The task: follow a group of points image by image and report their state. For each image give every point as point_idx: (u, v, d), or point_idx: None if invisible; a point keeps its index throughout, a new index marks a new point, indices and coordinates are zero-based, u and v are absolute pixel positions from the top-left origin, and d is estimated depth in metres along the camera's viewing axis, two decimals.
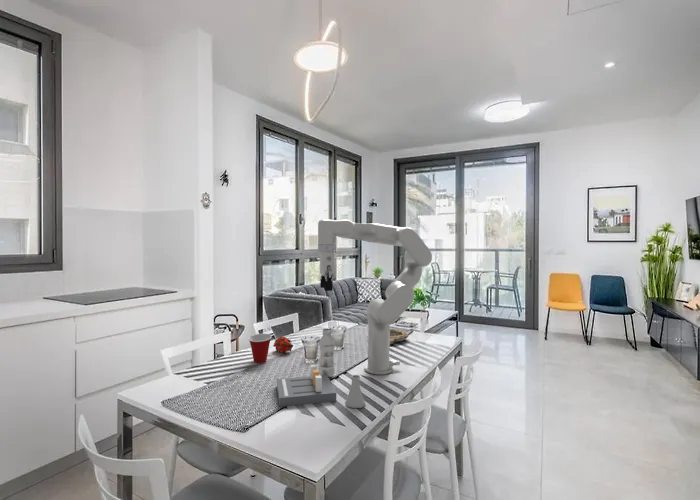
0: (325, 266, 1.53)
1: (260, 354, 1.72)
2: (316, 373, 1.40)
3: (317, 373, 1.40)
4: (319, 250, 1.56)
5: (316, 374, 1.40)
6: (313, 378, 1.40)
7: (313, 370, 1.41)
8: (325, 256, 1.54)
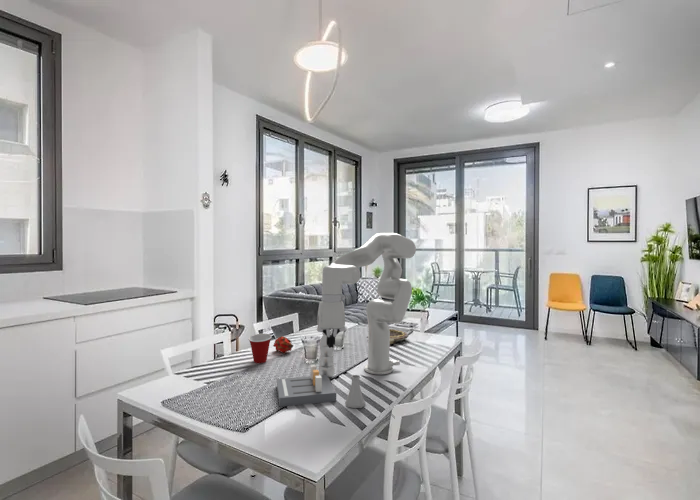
0: (344, 317, 1.41)
1: (261, 354, 1.72)
2: (316, 373, 1.40)
3: (317, 373, 1.40)
4: (337, 301, 1.38)
5: (316, 374, 1.40)
6: (313, 378, 1.40)
7: (313, 370, 1.41)
8: (343, 306, 1.41)
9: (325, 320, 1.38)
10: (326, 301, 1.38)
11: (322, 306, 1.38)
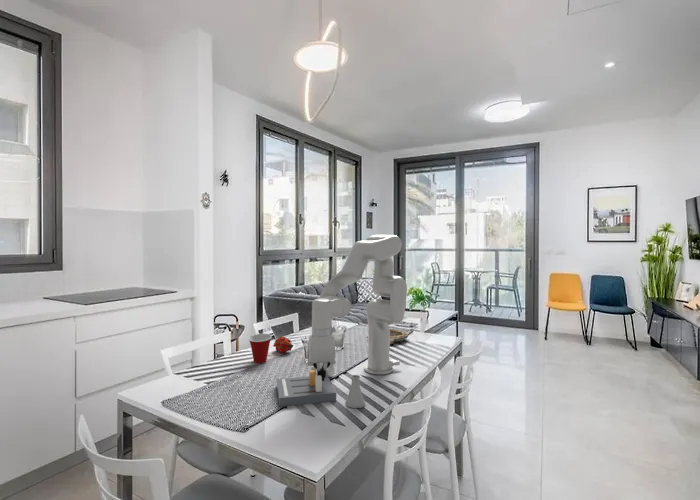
0: None
1: (261, 354, 1.72)
2: (313, 373, 1.39)
3: (314, 373, 1.39)
4: (327, 335, 1.38)
5: (313, 374, 1.39)
6: (309, 378, 1.39)
7: (310, 370, 1.41)
8: (333, 339, 1.41)
9: (315, 354, 1.38)
10: (316, 335, 1.37)
11: (312, 340, 1.38)
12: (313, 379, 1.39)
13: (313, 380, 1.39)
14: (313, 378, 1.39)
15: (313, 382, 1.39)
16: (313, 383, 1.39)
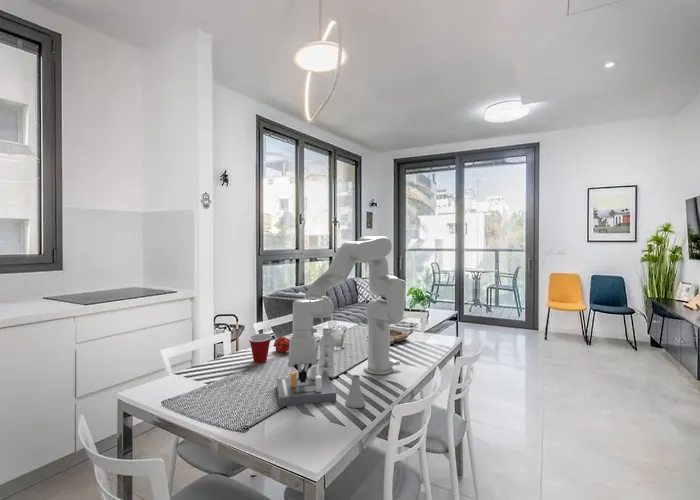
0: None
1: (261, 354, 1.72)
2: (294, 375, 1.37)
3: (295, 375, 1.38)
4: (308, 336, 1.36)
5: (294, 376, 1.37)
6: (291, 380, 1.38)
7: (291, 372, 1.39)
8: None
9: (296, 356, 1.36)
10: (296, 336, 1.36)
11: (292, 341, 1.36)
12: (294, 381, 1.38)
13: (294, 382, 1.38)
14: (294, 380, 1.38)
15: (294, 384, 1.38)
16: (294, 385, 1.38)
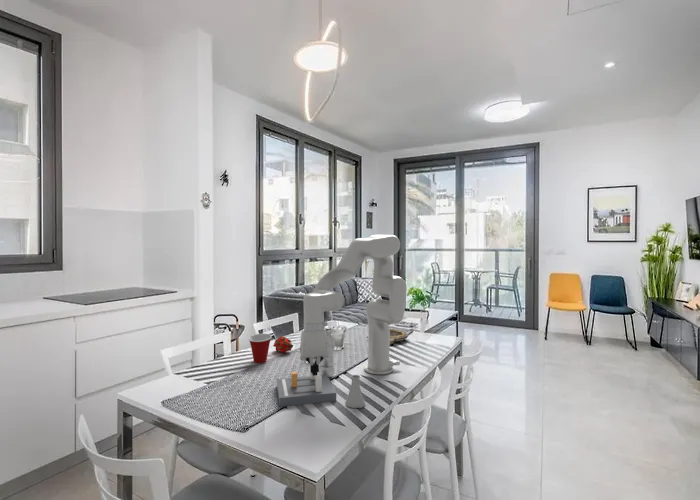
0: (327, 344, 1.40)
1: (261, 354, 1.72)
2: (294, 375, 1.38)
3: (295, 375, 1.38)
4: (319, 329, 1.37)
5: (294, 376, 1.38)
6: (291, 380, 1.38)
7: (292, 372, 1.39)
8: (326, 334, 1.40)
9: (308, 349, 1.38)
10: (308, 330, 1.37)
11: (304, 335, 1.37)
12: (295, 381, 1.38)
13: (295, 382, 1.38)
14: (295, 379, 1.38)
15: (295, 384, 1.38)
16: (294, 385, 1.38)
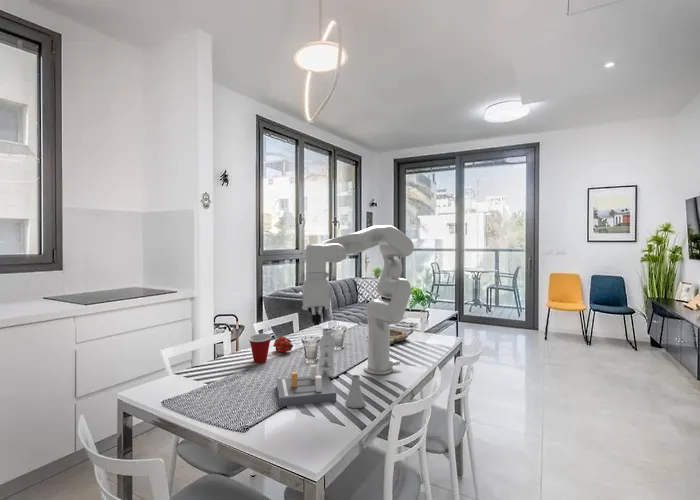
0: (329, 295, 1.42)
1: (261, 354, 1.72)
2: (294, 375, 1.38)
3: (295, 375, 1.38)
4: (321, 279, 1.39)
5: (294, 376, 1.38)
6: (291, 380, 1.38)
7: (292, 372, 1.39)
8: None
9: (310, 298, 1.39)
10: (310, 279, 1.38)
11: (306, 284, 1.39)
12: (295, 381, 1.38)
13: (295, 382, 1.38)
14: (295, 379, 1.38)
15: (295, 384, 1.38)
16: (294, 385, 1.38)
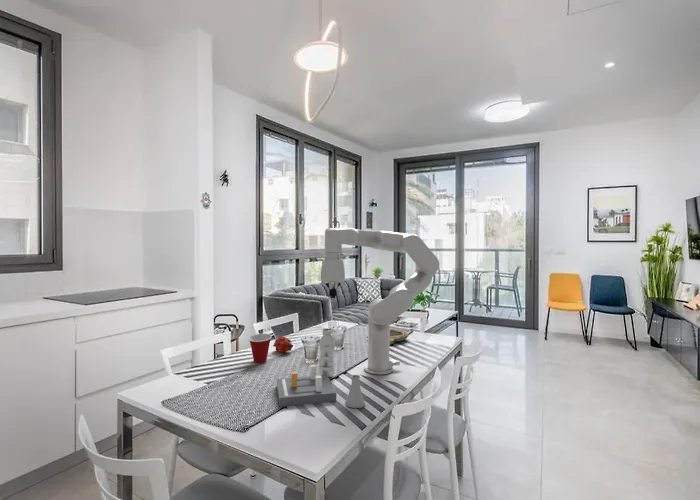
0: (344, 272, 1.64)
1: (261, 354, 1.72)
2: (294, 375, 1.38)
3: (295, 375, 1.38)
4: (338, 258, 1.62)
5: (294, 376, 1.38)
6: (291, 380, 1.38)
7: (292, 372, 1.39)
8: (343, 263, 1.64)
9: (328, 274, 1.62)
10: (328, 258, 1.61)
11: (325, 262, 1.62)
12: (295, 381, 1.38)
13: (295, 382, 1.38)
14: (295, 379, 1.38)
15: (295, 384, 1.38)
16: (294, 385, 1.38)
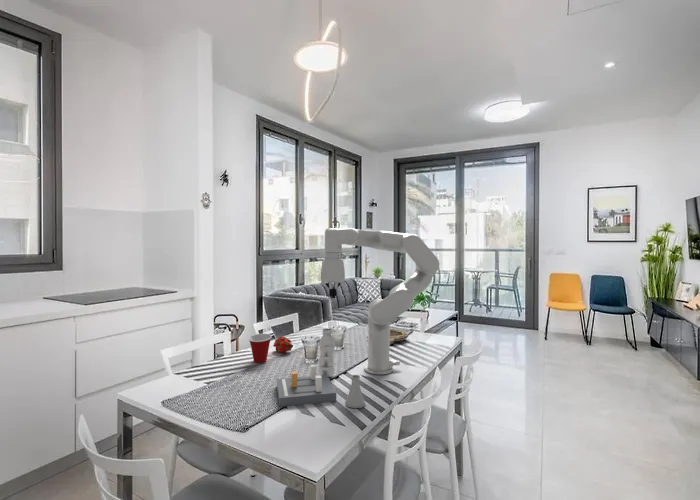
0: (344, 272, 1.64)
1: (261, 354, 1.72)
2: (294, 375, 1.38)
3: (295, 375, 1.38)
4: (338, 258, 1.62)
5: (294, 376, 1.38)
6: (291, 380, 1.38)
7: (292, 372, 1.39)
8: (343, 263, 1.64)
9: (328, 274, 1.62)
10: (328, 258, 1.61)
11: (325, 262, 1.62)
12: (295, 381, 1.38)
13: (295, 382, 1.38)
14: (295, 379, 1.38)
15: (295, 384, 1.38)
16: (294, 385, 1.38)
